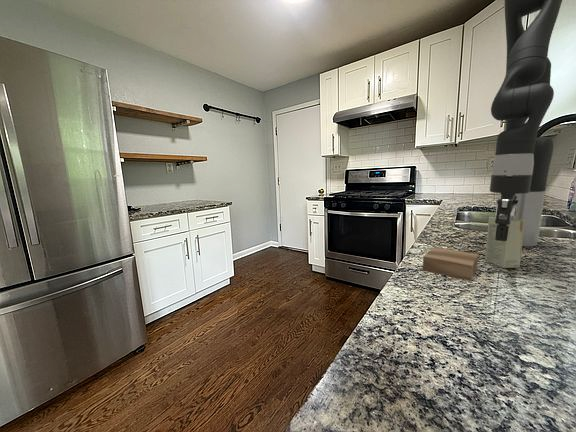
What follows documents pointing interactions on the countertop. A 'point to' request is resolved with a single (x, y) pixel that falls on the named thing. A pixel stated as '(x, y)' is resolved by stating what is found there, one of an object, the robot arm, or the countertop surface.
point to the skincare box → (505, 244)
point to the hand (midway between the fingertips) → (502, 237)
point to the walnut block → (451, 263)
